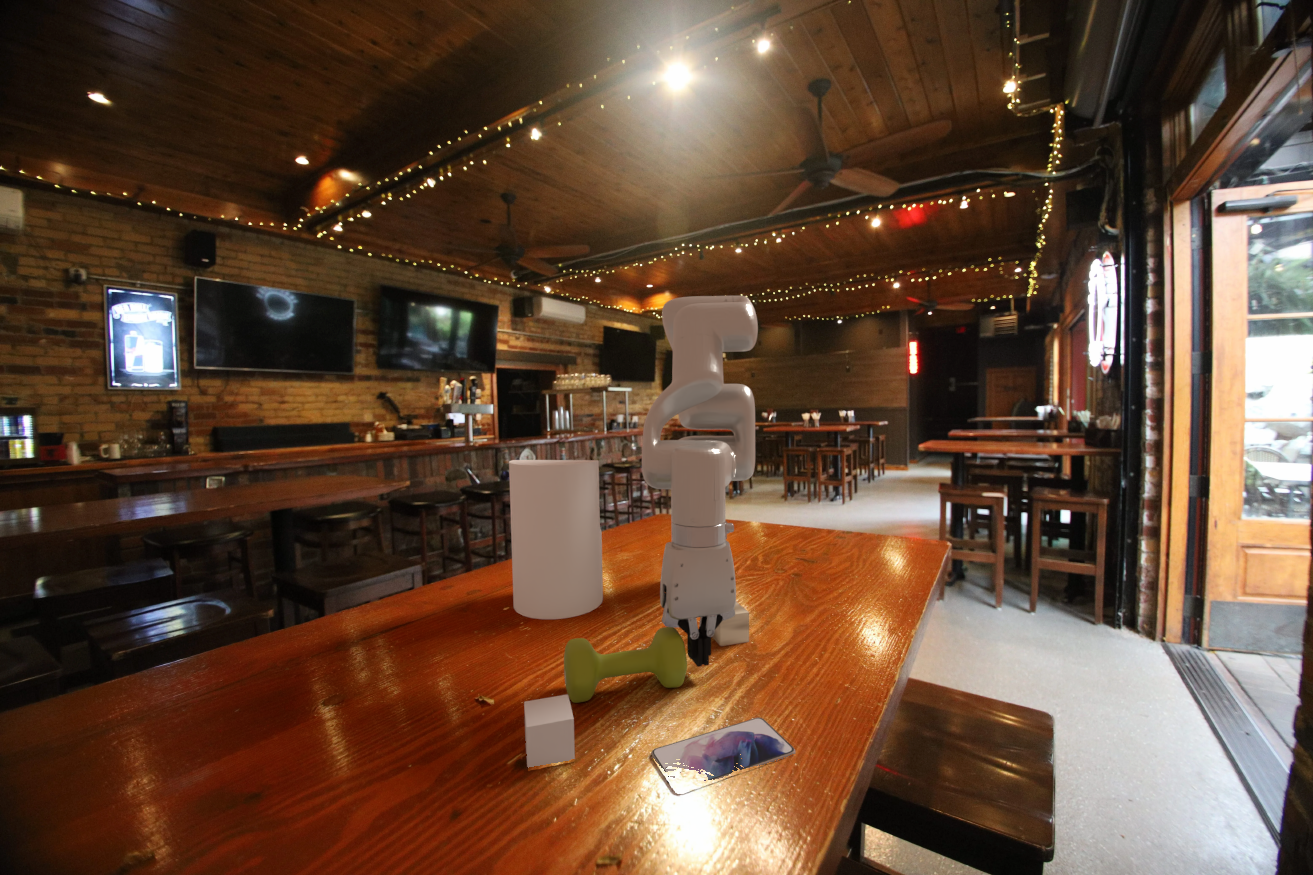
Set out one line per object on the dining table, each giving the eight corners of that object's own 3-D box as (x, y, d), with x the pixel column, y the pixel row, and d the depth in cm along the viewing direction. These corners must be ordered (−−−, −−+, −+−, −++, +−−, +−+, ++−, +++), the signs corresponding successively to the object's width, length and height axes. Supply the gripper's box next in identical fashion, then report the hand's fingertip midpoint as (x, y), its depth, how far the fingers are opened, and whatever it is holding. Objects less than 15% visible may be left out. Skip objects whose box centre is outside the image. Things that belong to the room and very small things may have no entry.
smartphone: (798, 750, 58) (676, 792, 52) (798, 757, 58) (676, 800, 52) (760, 715, 65) (648, 748, 58) (760, 721, 65) (648, 756, 59)
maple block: (708, 633, 89) (708, 604, 88) (735, 629, 90) (735, 601, 90) (720, 646, 84) (720, 616, 83) (749, 642, 85) (749, 612, 85)
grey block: (525, 743, 61) (524, 701, 60) (569, 735, 62) (568, 694, 62) (527, 772, 56) (526, 727, 55) (574, 762, 57) (573, 718, 57)
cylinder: (588, 621, 94) (585, 465, 92) (497, 616, 96) (492, 465, 95) (612, 587, 111) (609, 455, 109) (534, 584, 114) (530, 455, 112)
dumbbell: (675, 666, 78) (675, 618, 77) (692, 695, 70) (691, 642, 69) (562, 681, 74) (561, 631, 73) (567, 714, 66) (565, 658, 65)
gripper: (735, 523, 79) (735, 642, 80) (639, 532, 75) (641, 657, 76) (759, 535, 72) (759, 665, 73) (655, 545, 67) (657, 683, 69)
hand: (699, 661), depth 75 cm, fingers closed
